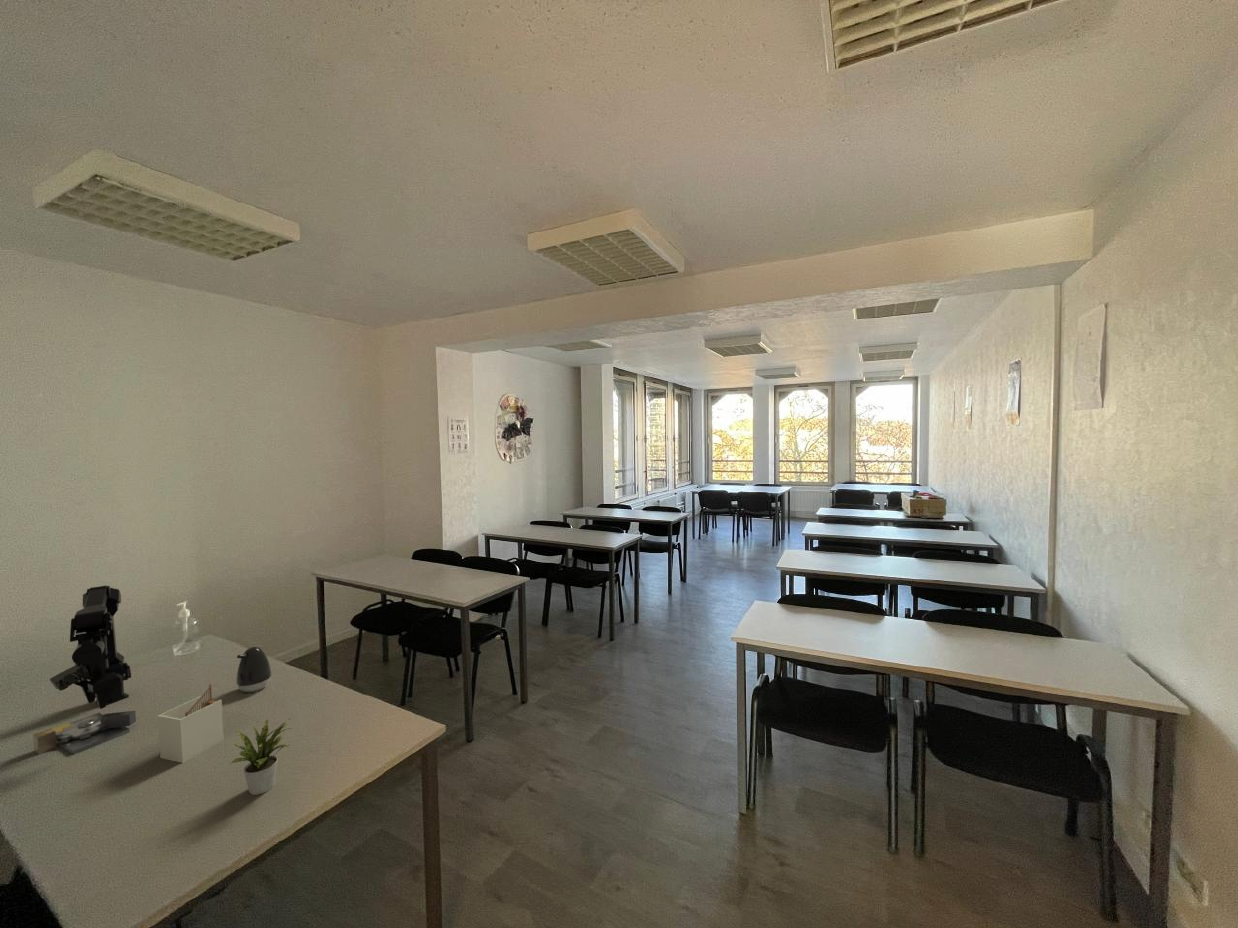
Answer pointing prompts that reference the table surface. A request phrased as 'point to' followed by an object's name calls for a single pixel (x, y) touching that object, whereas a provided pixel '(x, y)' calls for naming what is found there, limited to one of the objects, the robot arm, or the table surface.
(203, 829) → the table surface
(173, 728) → the white planter box
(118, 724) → the sprocket
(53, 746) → the striped gift box
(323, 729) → the table surface
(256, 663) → the pump dispenser
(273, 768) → the house plant
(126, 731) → the base plate
